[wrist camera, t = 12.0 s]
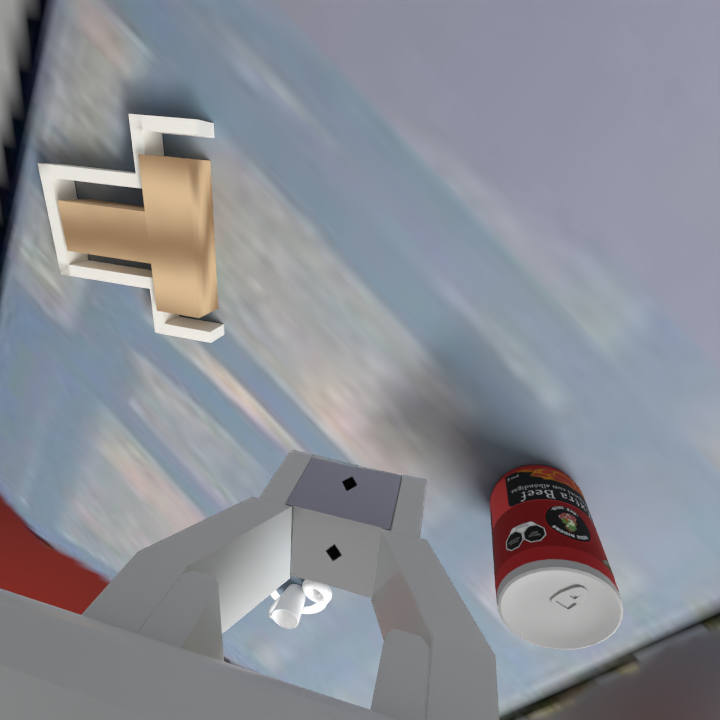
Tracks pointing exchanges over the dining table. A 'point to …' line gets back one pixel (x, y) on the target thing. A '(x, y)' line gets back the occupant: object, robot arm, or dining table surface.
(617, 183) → the dining table surface
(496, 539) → the canned food
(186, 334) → the t socket
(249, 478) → the dining table surface
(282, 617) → the white looped piece
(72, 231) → the t block
